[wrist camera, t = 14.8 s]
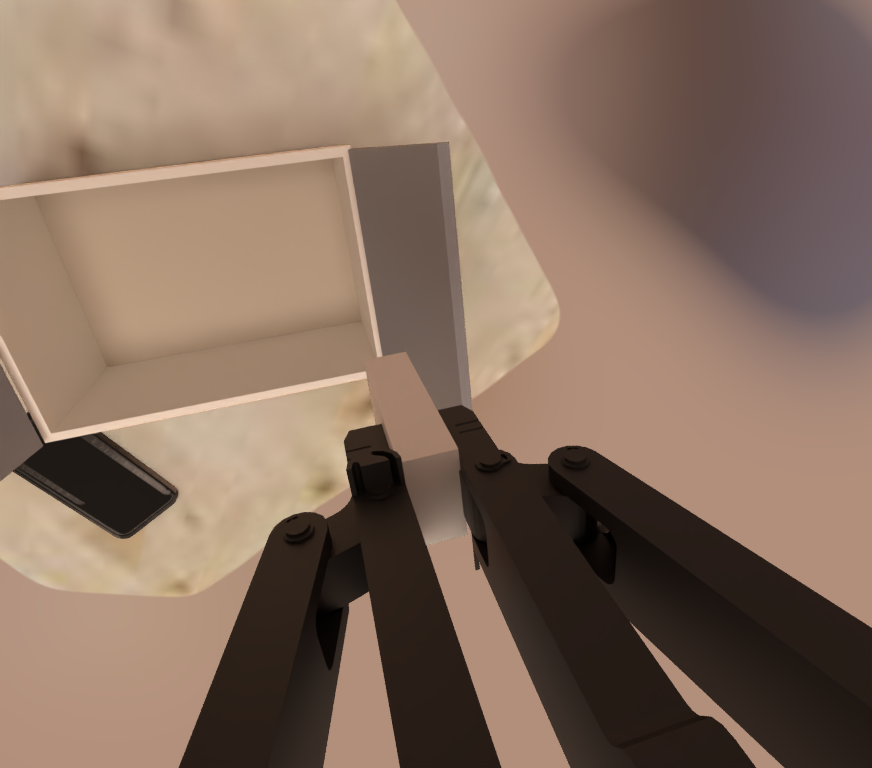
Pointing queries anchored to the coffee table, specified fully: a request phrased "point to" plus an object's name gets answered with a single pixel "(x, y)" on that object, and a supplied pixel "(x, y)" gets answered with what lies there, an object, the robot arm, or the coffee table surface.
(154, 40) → the coffee table surface
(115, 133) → the coffee table surface
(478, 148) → the coffee table surface
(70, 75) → the coffee table surface
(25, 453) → the flap
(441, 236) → the flap
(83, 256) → the carton
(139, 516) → the phone
